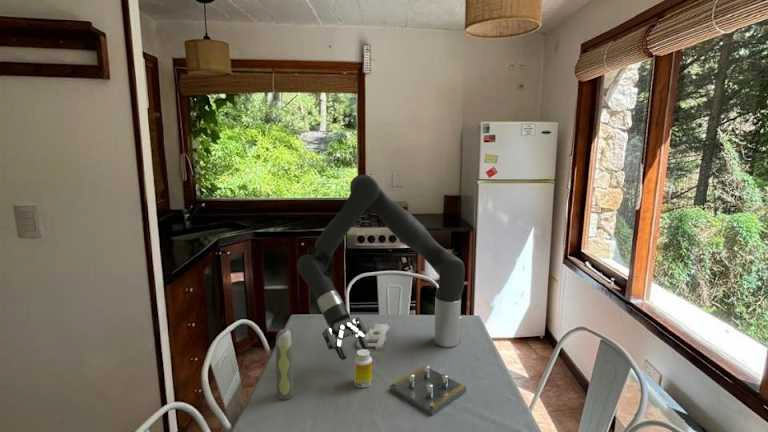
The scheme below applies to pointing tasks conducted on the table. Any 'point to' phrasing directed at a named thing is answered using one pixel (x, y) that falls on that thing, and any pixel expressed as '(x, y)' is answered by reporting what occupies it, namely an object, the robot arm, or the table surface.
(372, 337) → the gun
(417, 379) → the grey peg fixture plate
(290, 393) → the tall green-filled container
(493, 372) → the table surface
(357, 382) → the supplement bottle
